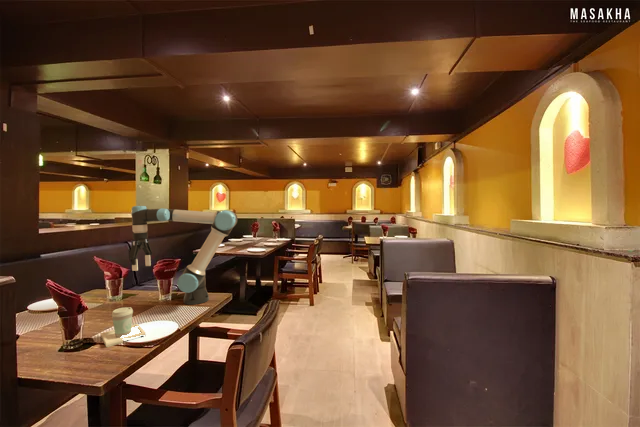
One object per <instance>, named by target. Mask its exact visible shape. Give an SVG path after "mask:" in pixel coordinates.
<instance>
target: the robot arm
mask: <svg viewBox="0 0 640 427" xmlns="http://www.w3.org/2000/svg"><path fill="white" fill-rule="evenodd" d="M131 221H132V222H131V226H132V227H131V228H132V232H133V233H132V240H135V241H131V247H130V251H129V255H128V259H129V260H131V270H132V271H135V272H137V271H139V265H138V255H139V253H140V251H141V249H142V250H143V252H144V254H145V255H144V260H145V261H144V262H145V267H151V265H152V263H151V262H152V260H151V256H152V255H153V250H152V247H151V243H150V239H149V232H148V223H149V222H150V223H151V222H183V223H196V224H198V223H199V224H209V225H210V226H211V227H210V229H211V231H210V233H209V234H208V235H207V237H206V239H205V241H204V243H203V244H202V245H201V247H200V248H199V251H198V253H197V254H196V256H195V257H194V259H193V261H192V262H191V264H188V265H187V266H186V267H185V269H184V271H183V272H182V274H181V275H180V276H178V278H177V282H176V283H177V287H178V289H179V290H180V291H181V292H183V293H184V297H183V304H184V305H190V306H191V305H198V304H203V303H206V302H208V301H209V300H210V296H209V292H208V291H207V290H208V289H207V287H206V286H207V285H206V269H207V268H208V265H209V264H210V262H211V260H212V259H213V257H214V256H215V253H216V252H217V251H218V248H219V247H220V245H221V244H222V242H223V240H224V238H225V237H228V236H229V235H230V233H231V231H233V228H234V227H236V225H237V224H238V215H237V214H236V213H235V212H234V211H232V210H226V209H225V210H221V211H219V210H218V211H216V212H214V211H213V212H212V211H202V210H201V211H199V210H189V209H187V210H185V209H172V208H150V209H149V208H147V206H146V205H134V206H132V207H131ZM132 271H131V272H132Z"/></svg>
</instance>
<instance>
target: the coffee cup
mask: <svg viewBox="0 0 640 427" xmlns="http://www.w3.org/2000/svg"><path fill="white" fill-rule="evenodd" d="M133 313H134V310H133V308H132V307H131V306H130V307H129V306H128V307H127V306H126V307H125V306H124V307H119V308H116V309H113V311H112V313H111V315H110V316H111V318H112V319H111V320H112V325H113V330H115V336H116V337H117V338H120V337H121V336H122V335H127V334H129V333H130V332H131V325H132V322H133V321H132V320H133Z"/></svg>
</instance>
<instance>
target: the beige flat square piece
mask: <svg viewBox="0 0 640 427" xmlns="http://www.w3.org/2000/svg"><path fill="white" fill-rule="evenodd" d="M135 326H139V327H138V329H139V330H140V332H141V333H139V334H135V335H132V336H128V337H124V338H131V337H136V336H140V335H145V336H146V331H145V330H144V329H143V328H142V327H141V326H140V324H138V323H136V324H135V323H134V324H131V328H132V327H135ZM100 338H101V339H102V342H103V344H104V345H105V348H109V347H112V346H116V345H119V344H123V340H122V339H123V338H117V337H116V336H115V330H114V329H112V330H108V331H105V332H101V333H100Z"/></svg>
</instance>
